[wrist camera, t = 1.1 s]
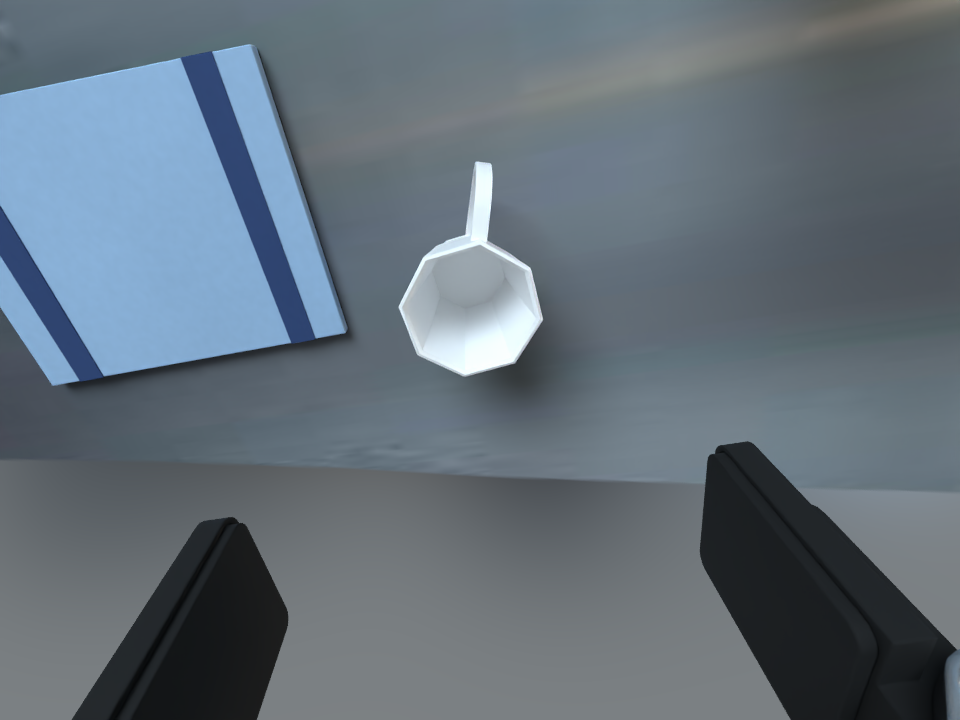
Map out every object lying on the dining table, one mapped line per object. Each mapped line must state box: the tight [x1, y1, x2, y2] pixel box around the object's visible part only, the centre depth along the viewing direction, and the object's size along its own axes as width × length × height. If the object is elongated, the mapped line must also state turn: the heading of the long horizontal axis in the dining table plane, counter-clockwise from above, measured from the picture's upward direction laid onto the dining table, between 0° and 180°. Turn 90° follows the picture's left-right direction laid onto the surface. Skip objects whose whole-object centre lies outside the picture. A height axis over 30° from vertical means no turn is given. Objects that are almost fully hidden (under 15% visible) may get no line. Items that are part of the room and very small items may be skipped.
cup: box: [399, 162, 543, 377], centre depth 26 cm, size 7×10×8 cm
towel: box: [0, 44, 348, 386], centre depth 28 cm, size 16×20×1 cm
